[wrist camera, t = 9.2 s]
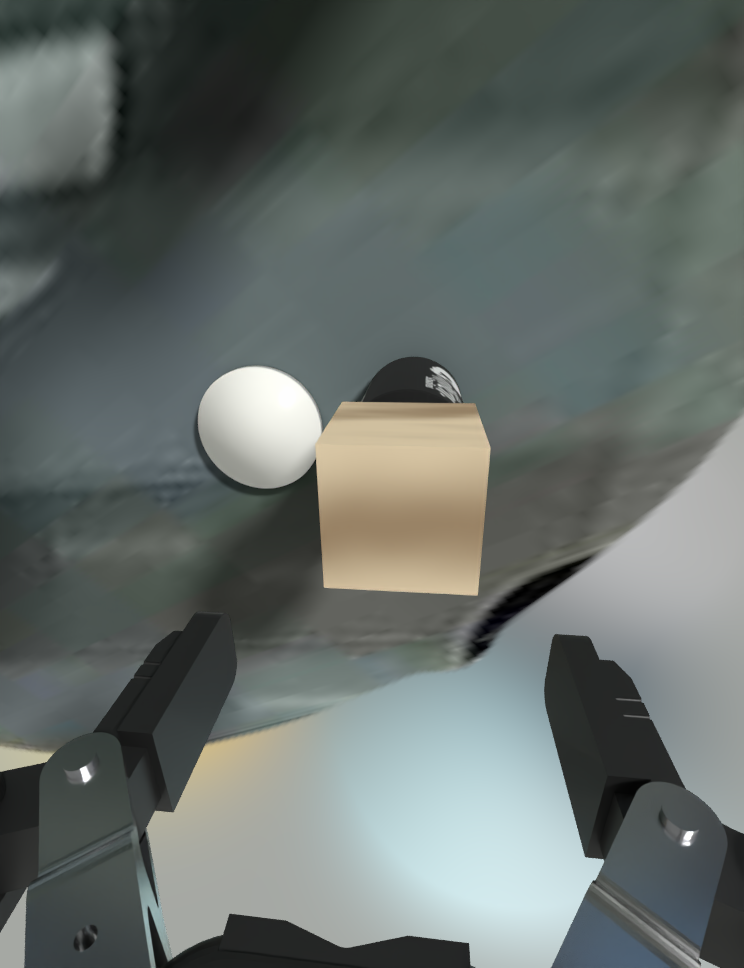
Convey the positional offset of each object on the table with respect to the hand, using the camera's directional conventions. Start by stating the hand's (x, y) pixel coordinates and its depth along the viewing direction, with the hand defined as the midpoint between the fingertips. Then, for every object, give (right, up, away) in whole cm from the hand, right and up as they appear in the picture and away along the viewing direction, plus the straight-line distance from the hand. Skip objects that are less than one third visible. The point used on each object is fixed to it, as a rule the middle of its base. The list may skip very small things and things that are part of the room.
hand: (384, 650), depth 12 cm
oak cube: (+1, +5, +11) cm, 12 cm away
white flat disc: (-8, +8, +24) cm, 27 cm away
